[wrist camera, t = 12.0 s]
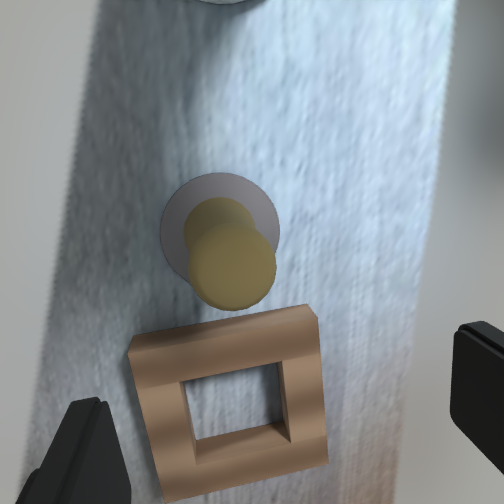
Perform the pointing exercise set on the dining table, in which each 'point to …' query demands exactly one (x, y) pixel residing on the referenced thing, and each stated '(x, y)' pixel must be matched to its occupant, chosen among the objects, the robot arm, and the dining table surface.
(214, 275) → the cork
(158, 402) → the square frame
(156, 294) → the dining table surface
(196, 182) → the coaster
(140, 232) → the dining table surface
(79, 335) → the dining table surface
